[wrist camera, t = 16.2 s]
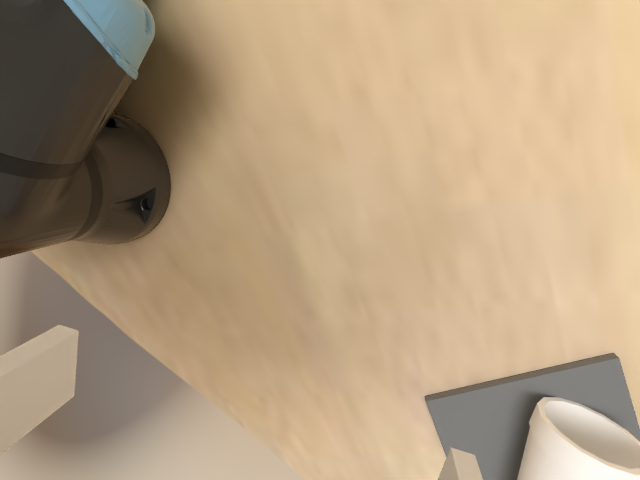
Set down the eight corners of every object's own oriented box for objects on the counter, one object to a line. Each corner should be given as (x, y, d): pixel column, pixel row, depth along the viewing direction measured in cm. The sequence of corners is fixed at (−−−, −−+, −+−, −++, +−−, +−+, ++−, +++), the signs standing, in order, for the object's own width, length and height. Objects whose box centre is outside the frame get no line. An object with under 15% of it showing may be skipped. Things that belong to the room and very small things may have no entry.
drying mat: (467, 508, 45) (468, 516, 44) (424, 396, 43) (425, 401, 42) (650, 480, 40) (656, 488, 39) (613, 352, 38) (619, 357, 37)
